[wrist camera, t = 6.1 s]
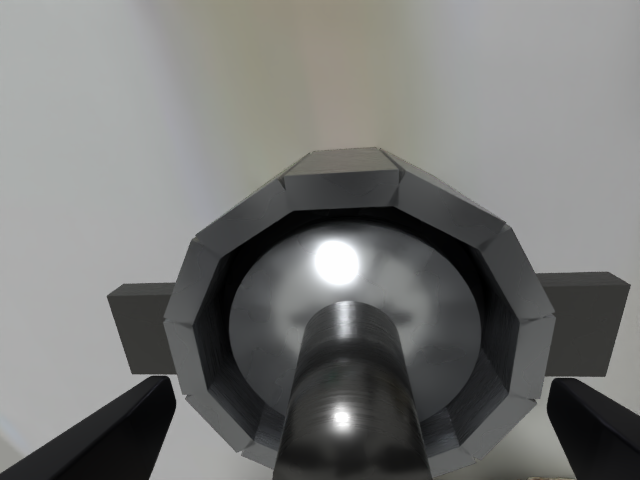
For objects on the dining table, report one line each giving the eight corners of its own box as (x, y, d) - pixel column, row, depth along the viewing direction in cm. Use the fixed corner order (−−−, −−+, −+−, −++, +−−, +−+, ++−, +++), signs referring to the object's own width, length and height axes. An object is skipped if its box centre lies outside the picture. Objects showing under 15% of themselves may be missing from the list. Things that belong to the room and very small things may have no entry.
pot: (539, 136, 12) (720, 150, 6) (507, 353, 16) (606, 498, 10) (170, 160, 14) (33, 190, 8) (212, 353, 17) (138, 479, 11)
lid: (479, 208, 9) (625, 305, 4) (460, 412, 11) (538, 619, 7) (222, 219, 10) (100, 313, 5) (255, 408, 12) (195, 593, 7)
